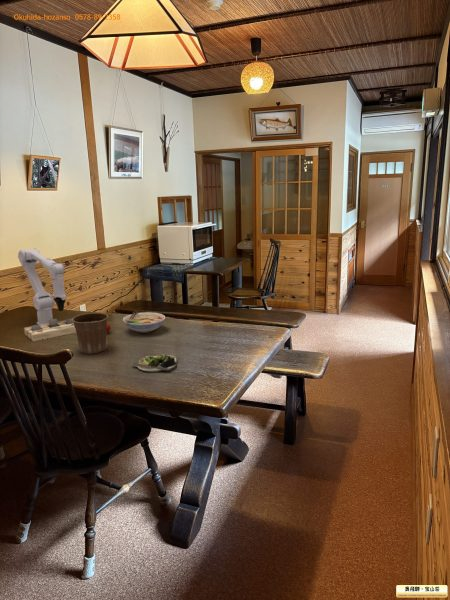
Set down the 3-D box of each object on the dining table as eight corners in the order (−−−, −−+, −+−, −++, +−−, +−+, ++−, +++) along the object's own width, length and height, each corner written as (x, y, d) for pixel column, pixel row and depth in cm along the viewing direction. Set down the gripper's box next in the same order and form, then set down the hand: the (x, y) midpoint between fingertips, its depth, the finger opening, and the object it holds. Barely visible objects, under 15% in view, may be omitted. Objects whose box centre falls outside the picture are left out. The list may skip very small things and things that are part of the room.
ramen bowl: (162, 338, 224) (161, 323, 222) (118, 338, 224) (117, 323, 222) (169, 324, 248) (168, 310, 246) (129, 324, 248) (128, 310, 246)
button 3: (65, 327, 240) (64, 319, 239) (72, 325, 243) (72, 318, 242) (68, 329, 237) (67, 321, 236) (75, 327, 239) (75, 319, 238)
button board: (24, 334, 230) (23, 327, 229) (74, 324, 247) (73, 318, 246) (33, 341, 219) (32, 334, 218) (85, 330, 236) (84, 323, 235)
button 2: (48, 327, 234) (47, 319, 233) (56, 326, 237) (55, 318, 236) (51, 329, 231) (50, 321, 230) (59, 328, 233) (58, 320, 232)
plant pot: (73, 357, 198) (70, 323, 194) (75, 345, 213) (73, 314, 209) (110, 354, 202) (108, 320, 198) (110, 342, 217) (107, 311, 213)
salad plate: (129, 375, 179) (128, 365, 178) (134, 359, 196) (133, 350, 195) (176, 373, 180) (176, 363, 179) (177, 358, 198) (176, 348, 197)
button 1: (31, 334, 229) (30, 325, 228) (39, 332, 232) (38, 324, 230) (33, 336, 226) (32, 327, 224) (42, 334, 228) (41, 326, 227)
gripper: (46, 285, 237) (49, 309, 240) (55, 289, 226) (58, 314, 229) (59, 283, 241) (61, 307, 245) (69, 287, 231) (71, 312, 234)
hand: (61, 310), depth 237 cm, fingers closed
